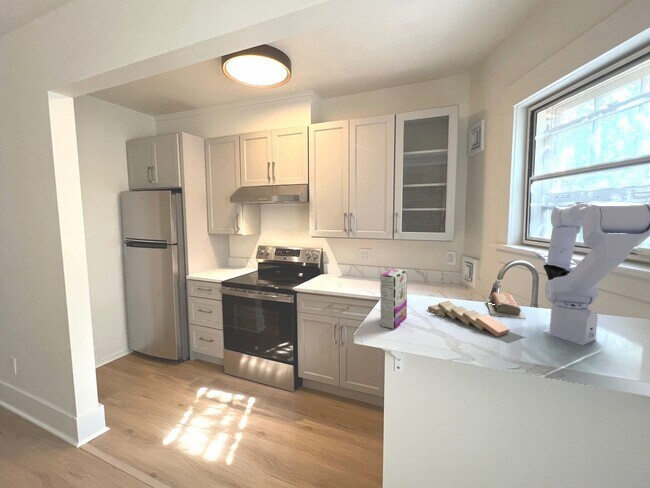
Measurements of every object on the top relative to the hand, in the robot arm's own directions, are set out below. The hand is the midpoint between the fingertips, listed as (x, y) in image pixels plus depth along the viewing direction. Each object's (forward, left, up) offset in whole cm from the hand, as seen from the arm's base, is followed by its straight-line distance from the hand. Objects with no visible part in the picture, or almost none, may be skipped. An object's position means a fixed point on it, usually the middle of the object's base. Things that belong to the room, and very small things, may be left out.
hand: (553, 286), depth 91 cm
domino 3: (+9, +25, -10) cm, 28 cm away
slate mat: (+8, +25, -11) cm, 28 cm away
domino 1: (+18, +25, -10) cm, 32 cm away
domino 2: (+14, +24, -10) cm, 30 cm away
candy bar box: (+22, +45, -11) cm, 52 cm away
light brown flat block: (+5, +25, -10) cm, 27 cm away
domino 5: (0, +25, -10) cm, 27 cm away
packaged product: (+14, +2, -12) cm, 18 cm away
